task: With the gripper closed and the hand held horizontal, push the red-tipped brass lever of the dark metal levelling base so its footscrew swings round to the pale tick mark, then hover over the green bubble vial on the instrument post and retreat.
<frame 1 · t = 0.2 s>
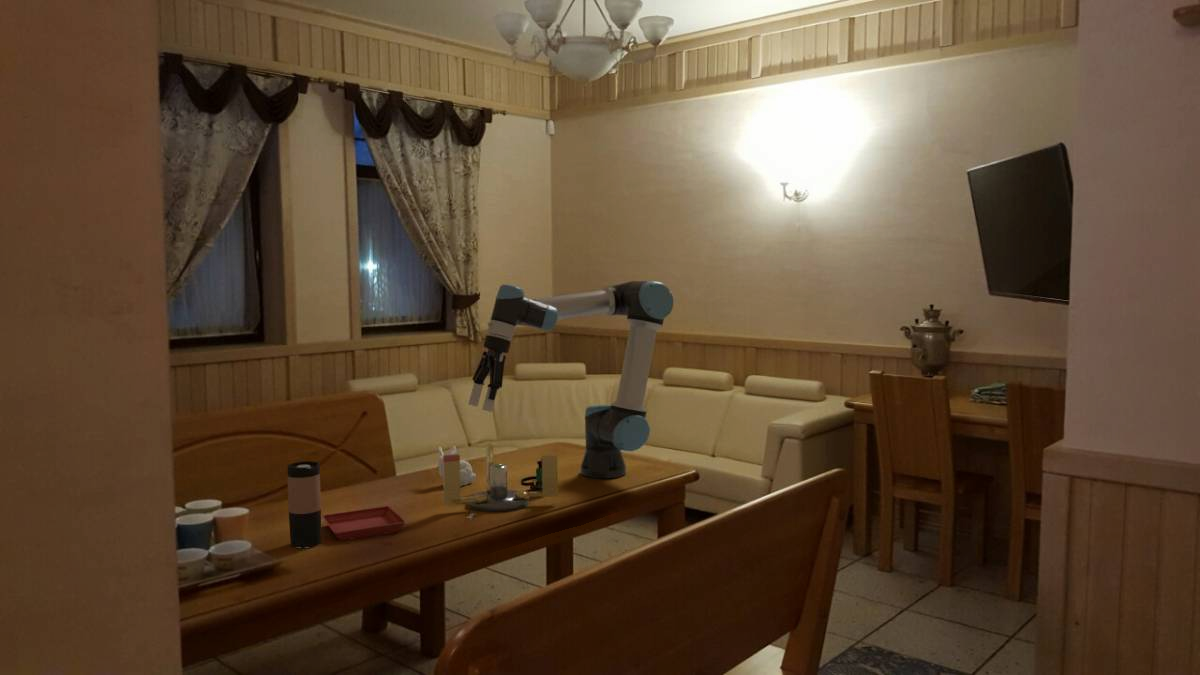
hand: (479, 408, 252), 28 cm above the table, tool tilted 20°, fingers open, 13 cm apart
travel mug: (306, 544, 217), on the table
rabbit: (453, 485, 276), on the table
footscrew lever: (465, 478, 246), point 9 cm above the table, hinge at 0.0°
plant saucer: (363, 531, 229), on the table
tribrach: (499, 503, 253), on the table
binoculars: (536, 493, 266), on the table
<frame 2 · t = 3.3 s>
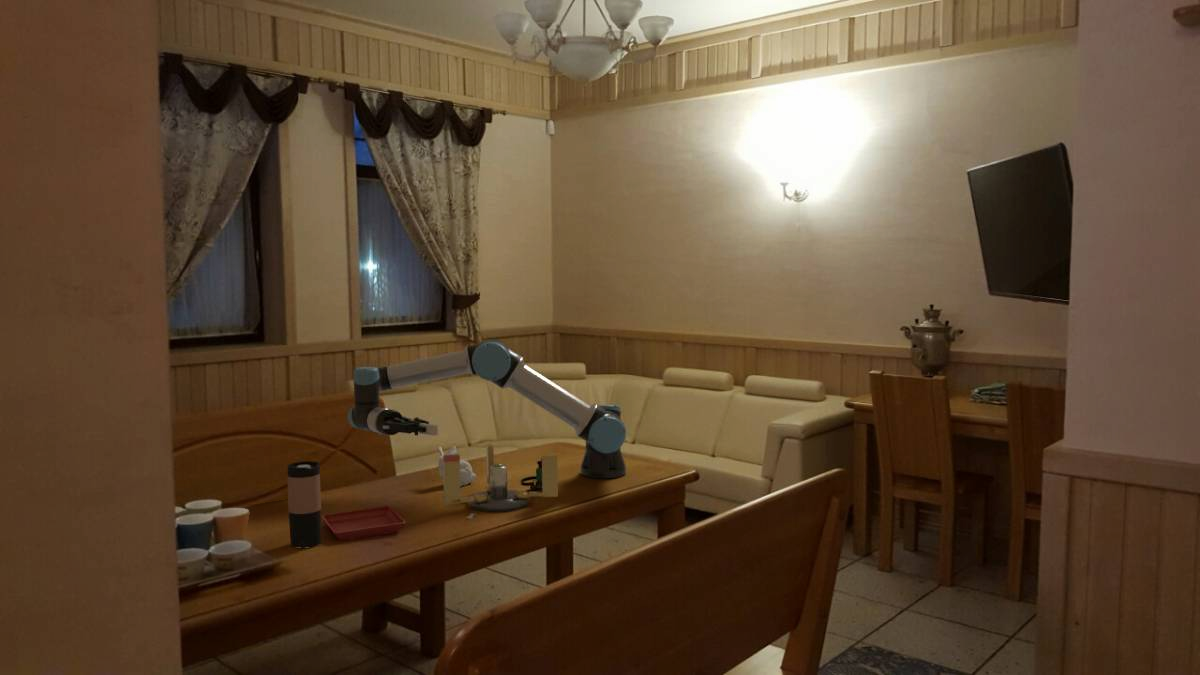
hand: (435, 430, 248), 22 cm above the table, tool horizontal, fingers closed
nothing on the table moved.
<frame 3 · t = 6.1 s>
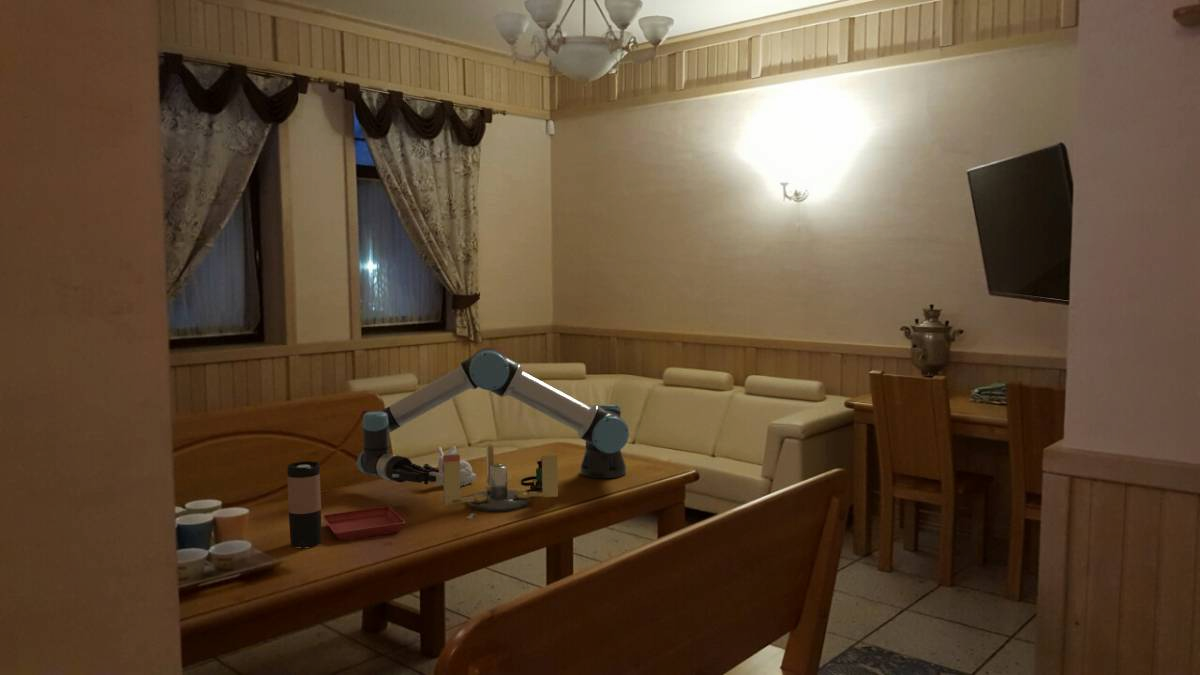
hand: (445, 480, 245), 9 cm above the table, tool horizontal, fingers closed
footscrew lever: (465, 478, 246), point 9 cm above the table, hinge at 0.7°, touching gripper
everything else where it was.
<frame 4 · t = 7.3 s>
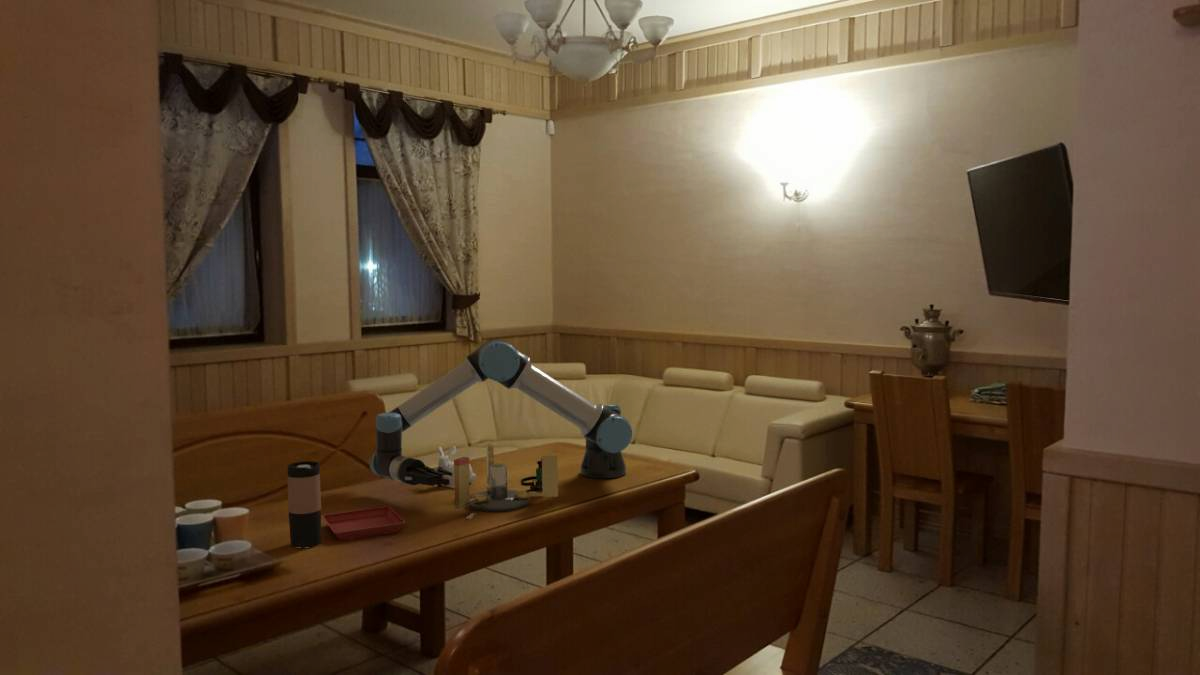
hand: (459, 483, 241), 9 cm above the table, tool horizontal, fingers closed
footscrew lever: (470, 480, 243), point 9 cm above the table, hinge at 41.0°, touching gripper
everything else where it was.
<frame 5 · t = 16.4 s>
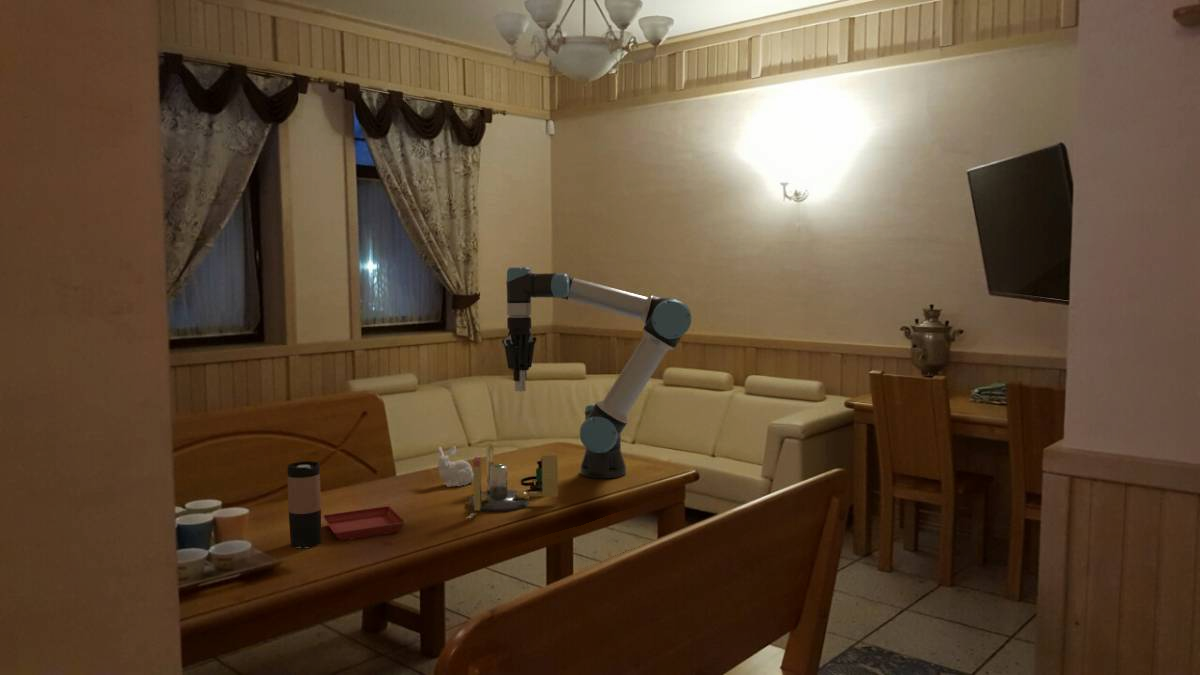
hand: (520, 390, 276), 29 cm above the table, tool pointing down, fingers closed
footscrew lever: (478, 480, 243), point 9 cm above the table, hinge at 73.8°
everything else where it was.
at the end: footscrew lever at +74° (first picture: +0°); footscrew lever touching nothing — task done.
